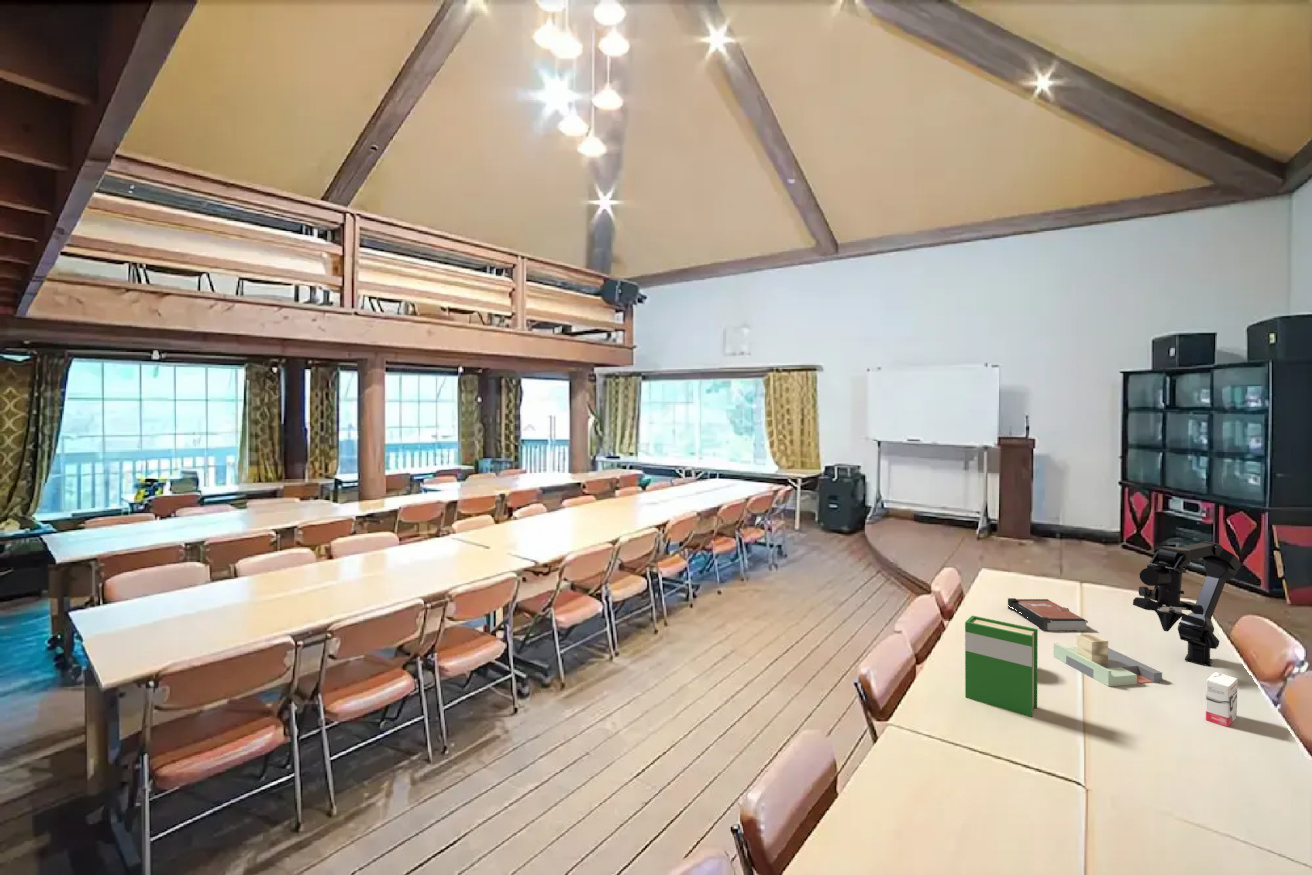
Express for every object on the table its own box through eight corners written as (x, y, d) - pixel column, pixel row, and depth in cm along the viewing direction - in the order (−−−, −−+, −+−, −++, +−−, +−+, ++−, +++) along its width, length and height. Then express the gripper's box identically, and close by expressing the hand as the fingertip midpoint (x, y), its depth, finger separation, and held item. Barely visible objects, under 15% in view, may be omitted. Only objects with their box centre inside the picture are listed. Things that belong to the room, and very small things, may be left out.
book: (1089, 632, 226) (1089, 619, 226) (1043, 632, 227) (1043, 620, 227) (1049, 609, 252) (1049, 598, 252) (1007, 609, 254) (1007, 598, 253)
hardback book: (1037, 707, 172) (1037, 628, 171) (1031, 717, 166) (1032, 636, 165) (972, 688, 184) (972, 615, 183) (965, 697, 179) (965, 622, 178)
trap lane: (1102, 652, 207) (1102, 639, 206) (1162, 681, 185) (1162, 666, 185) (1053, 656, 205) (1053, 643, 204) (1108, 686, 183) (1108, 671, 183)
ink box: (1228, 727, 158) (1229, 686, 158) (1204, 719, 163) (1205, 679, 162) (1237, 717, 163) (1238, 677, 162) (1213, 710, 167) (1214, 671, 167)
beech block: (1092, 656, 197) (1092, 633, 197) (1108, 664, 191) (1108, 640, 191) (1076, 657, 197) (1076, 635, 196) (1091, 665, 191) (1091, 642, 190)
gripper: (1178, 581, 200) (1174, 625, 201) (1122, 576, 202) (1119, 620, 202) (1207, 590, 189) (1203, 636, 190) (1147, 585, 190) (1143, 631, 191)
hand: (1165, 630), depth 193 cm, fingers closed
